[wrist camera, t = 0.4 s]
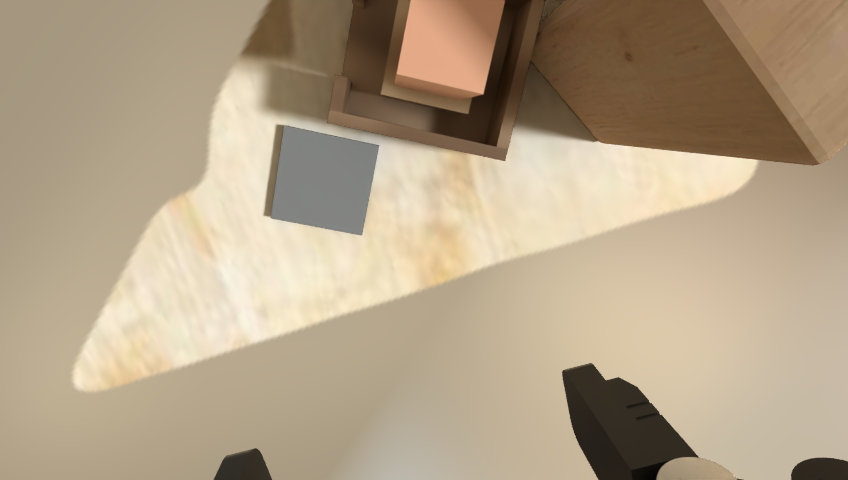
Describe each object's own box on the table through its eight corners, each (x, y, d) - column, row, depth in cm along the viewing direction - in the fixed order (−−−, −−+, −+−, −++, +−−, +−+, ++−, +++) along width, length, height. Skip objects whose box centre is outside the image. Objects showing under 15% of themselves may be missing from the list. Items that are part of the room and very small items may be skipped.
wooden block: (516, 47, 36) (672, -40, 16) (619, -56, 34) (918, -281, 15) (599, 145, 38) (823, 172, 19) (699, 52, 37) (1047, -24, 17)
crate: (362, -38, 34) (358, -64, 29) (526, 5, 35) (548, -14, 30) (335, 122, 36) (327, 122, 31) (489, 155, 37) (505, 161, 33)
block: (408, 13, 31) (415, -23, 23) (475, 29, 31) (505, 0, 24) (394, 85, 32) (396, 73, 24) (460, 100, 32) (483, 94, 25)
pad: (285, 125, 36) (284, 125, 35) (379, 145, 37) (378, 145, 36) (272, 216, 37) (270, 218, 37) (362, 233, 38) (361, 235, 38)
